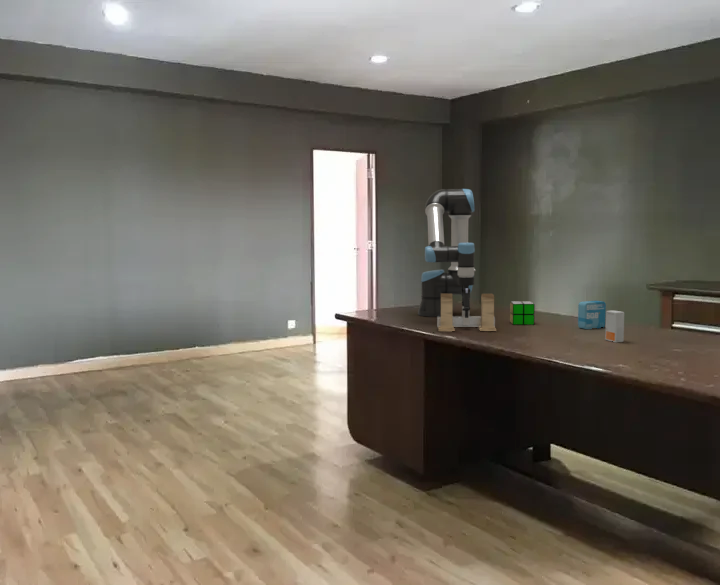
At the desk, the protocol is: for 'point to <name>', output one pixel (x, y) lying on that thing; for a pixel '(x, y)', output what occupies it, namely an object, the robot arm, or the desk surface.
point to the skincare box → (614, 326)
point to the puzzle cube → (522, 312)
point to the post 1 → (446, 313)
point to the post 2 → (487, 313)
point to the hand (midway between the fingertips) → (465, 322)
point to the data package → (591, 314)
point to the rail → (458, 321)
